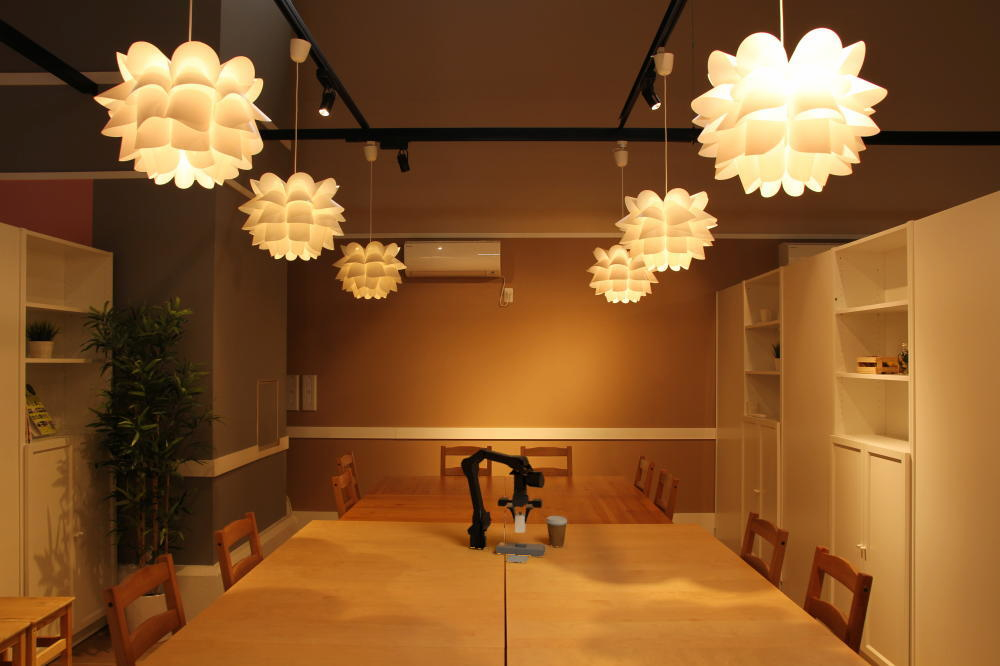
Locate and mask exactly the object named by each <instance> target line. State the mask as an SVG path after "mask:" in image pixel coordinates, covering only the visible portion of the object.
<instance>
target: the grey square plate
mask: <svg viewBox="0 0 1000 666" xmlns="http://www.w3.org/2000/svg"><path fill="white" fill-rule="evenodd" d="M527 558H528V559H529V556H518V555H507V558H506V559H505V562H506V561H511V562H526V563H527V561H528V559H527ZM526 560H527V561H526Z"/></svg>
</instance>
